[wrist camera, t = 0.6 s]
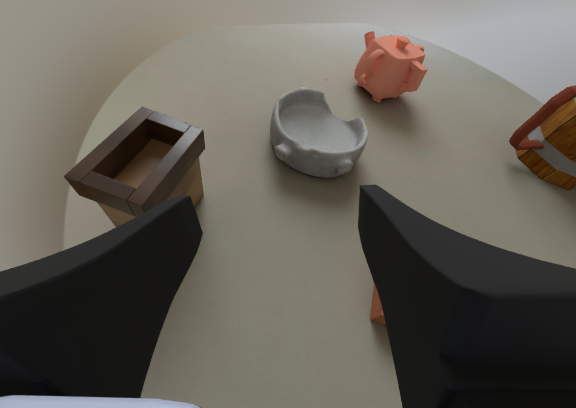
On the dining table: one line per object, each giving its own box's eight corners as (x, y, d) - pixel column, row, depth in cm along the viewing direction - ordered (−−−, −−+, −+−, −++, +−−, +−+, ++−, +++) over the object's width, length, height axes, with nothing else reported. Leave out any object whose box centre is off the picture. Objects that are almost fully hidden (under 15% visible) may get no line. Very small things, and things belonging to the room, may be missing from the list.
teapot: (351, 65, 55) (372, 13, 47) (404, 84, 55) (434, 35, 47) (343, 94, 49) (365, 39, 41) (403, 115, 49) (437, 65, 41)
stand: (166, 252, 27) (147, 215, 21) (121, 234, 27) (89, 193, 21) (203, 194, 31) (198, 149, 25) (165, 179, 31) (150, 131, 25)
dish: (286, 103, 44) (293, 75, 40) (363, 135, 43) (377, 110, 39) (248, 159, 36) (251, 131, 32) (342, 199, 35) (358, 176, 31)
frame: (150, 222, 20) (141, 206, 18) (78, 195, 20) (63, 176, 18) (205, 148, 25) (203, 129, 23) (148, 126, 26) (141, 106, 24)
